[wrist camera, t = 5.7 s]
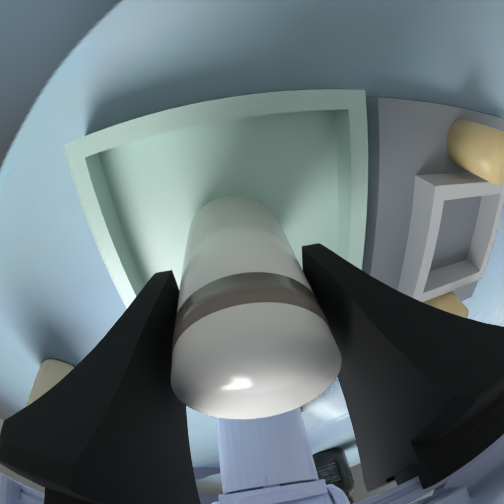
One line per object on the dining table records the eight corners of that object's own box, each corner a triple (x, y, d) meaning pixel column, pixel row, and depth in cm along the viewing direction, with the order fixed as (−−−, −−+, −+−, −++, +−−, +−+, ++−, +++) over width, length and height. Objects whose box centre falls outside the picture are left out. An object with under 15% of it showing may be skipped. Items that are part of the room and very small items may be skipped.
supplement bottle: (342, 452, 39) (358, 502, 29) (307, 462, 39) (321, 513, 29) (344, 443, 36) (362, 501, 25) (305, 455, 36) (319, 514, 26)
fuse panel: (465, 289, 19) (490, 317, 15) (353, 329, 18) (375, 372, 15) (499, 117, 11) (542, 132, 7) (366, 96, 10) (421, 102, 7)
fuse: (286, 267, 13) (337, 399, 7) (202, 286, 13) (202, 426, 7) (274, 184, 11) (348, 303, 5) (174, 207, 11) (137, 347, 5)
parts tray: (342, 294, 16) (355, 316, 14) (156, 328, 16) (152, 353, 14) (343, 90, 10) (365, 90, 8) (84, 136, 10) (63, 145, 8)
